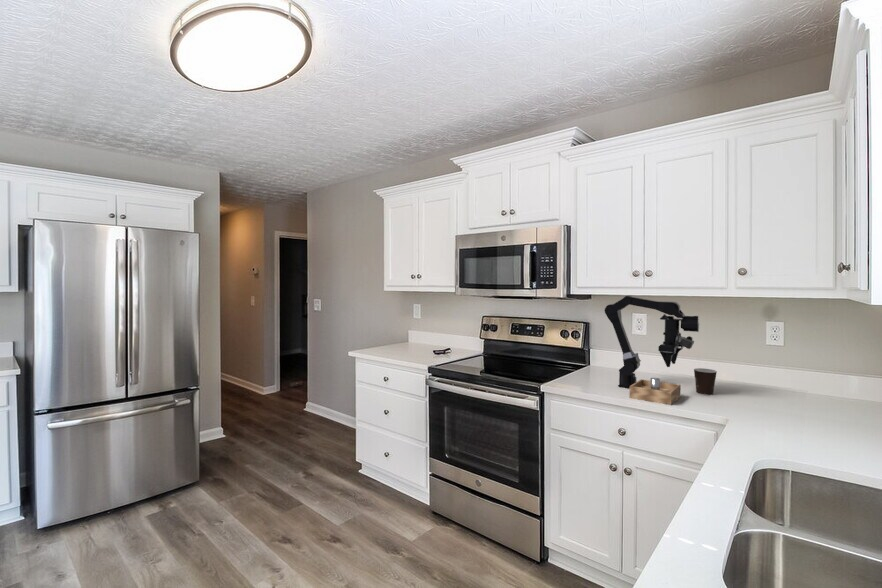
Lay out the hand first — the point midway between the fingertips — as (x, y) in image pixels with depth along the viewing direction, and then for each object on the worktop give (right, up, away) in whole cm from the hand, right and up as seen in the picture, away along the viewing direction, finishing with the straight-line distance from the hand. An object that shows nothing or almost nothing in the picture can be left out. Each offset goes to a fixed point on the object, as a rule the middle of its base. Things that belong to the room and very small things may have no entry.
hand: (671, 365), depth 198 cm
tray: (-11, -12, -7) cm, 18 cm away
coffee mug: (+16, -12, 0) cm, 20 cm away
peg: (-11, -12, -7) cm, 18 cm away
